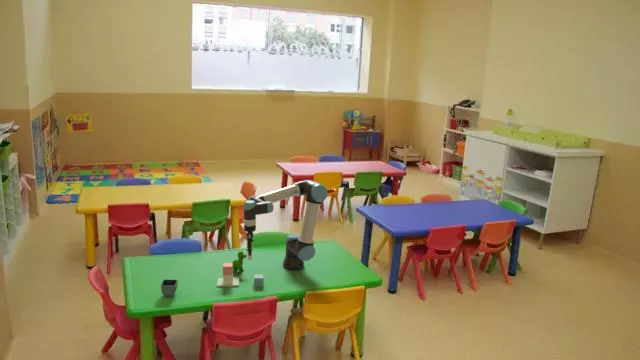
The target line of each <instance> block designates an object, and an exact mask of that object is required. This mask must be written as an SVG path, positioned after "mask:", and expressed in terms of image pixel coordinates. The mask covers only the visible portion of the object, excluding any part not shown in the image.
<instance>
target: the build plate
mask: <svg viewBox="0 0 640 360" xmlns="http://www.w3.org/2000/svg"><path fill="white" fill-rule="evenodd" d="M239 286H240V277H234V272H233V273H232V275H223V274H222V277H218V278H217V281H216V287H217V288H221V287H222V288H223V287H224V288H227V287H230V288H232V287H236V288H237V287H239Z"/></svg>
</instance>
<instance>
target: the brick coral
mask: <svg viewBox="0 0 640 360" xmlns="http://www.w3.org/2000/svg"><path fill="white" fill-rule="evenodd" d="M232 273H233V274H234V272H233V263H232V262H223V264H222V276H223V275H232Z"/></svg>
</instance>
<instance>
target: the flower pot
mask: <svg viewBox="0 0 640 360" xmlns="http://www.w3.org/2000/svg"><path fill="white" fill-rule="evenodd" d="M178 281H179V280H178V279H166V278H165V279H163V280H162V283H161V284H160V290H161V293H162V296H163V297H164V298H174V297H175V295H176V291H177V288H178Z"/></svg>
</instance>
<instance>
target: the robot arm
mask: <svg viewBox="0 0 640 360" xmlns="http://www.w3.org/2000/svg"><path fill="white" fill-rule="evenodd" d="M327 189H328V188H326V186H325V185H324V184H322V183H321V182H317V181H315V180H312V179H304V180H300V181H297V182H293V184H292V185H289V186H285V187H283V188H279V189H277V190H274V191H270V192H267V193H264V194H260V195H250V196H249V197H248V199H247V200H245V201H244V202H243V208H242V209H243V220H242V222H243V231H244V232H246V241H247V249H246V252H247V260H248V261H252V260H253V251H254V250H253V249H254V247H253V244H254V243H253V242H254V239H253V237H254V232H255V231H257V227H256V224H257V221H256V220H257V219H256V218H257V216H258V215H259V216H261V215H265V214H266V215H267V214H270V213H273V211H274V203H277V202H281V201H283V200H286V199H289V198H293V197H301V196H305V202H306V207H305V212H304V217H303V222H302V227H301V232H300V234H298V233H293V234H289V235H287V236H286V238H285V257H284V259H283V262H282V267H283V268H284V269H287V270H290V271H297V270H301V269H303V268H304V266H305V262H307V261H310V260H312V259H313V258H314V257H315V256H316V248H315V247H314V246H315V240H314V239H313V238H314V234H315V229H316V224H317V219H318V214H319V209H320V206H321V205H322V204H323V202H324V201H325V200H326V199H327V197H328V190H327Z"/></svg>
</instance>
